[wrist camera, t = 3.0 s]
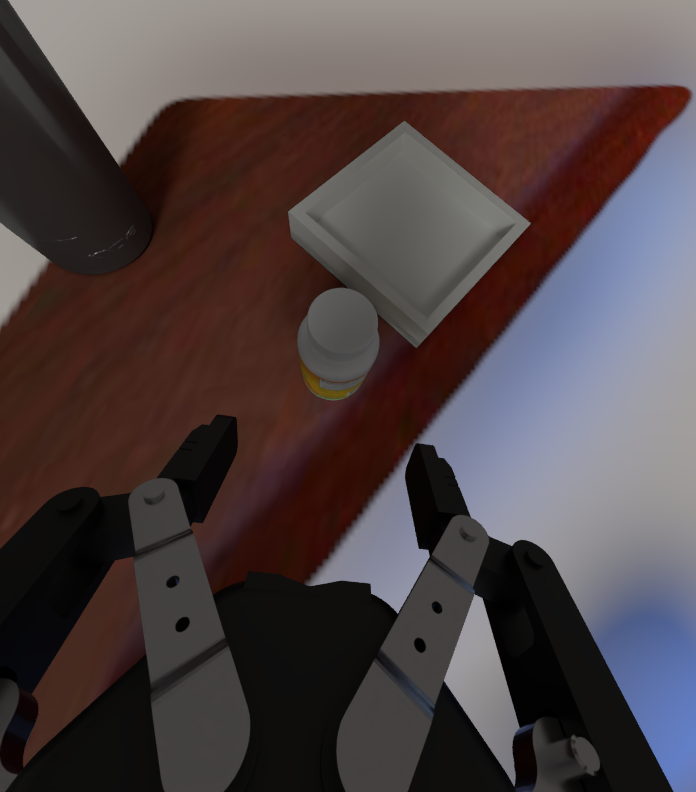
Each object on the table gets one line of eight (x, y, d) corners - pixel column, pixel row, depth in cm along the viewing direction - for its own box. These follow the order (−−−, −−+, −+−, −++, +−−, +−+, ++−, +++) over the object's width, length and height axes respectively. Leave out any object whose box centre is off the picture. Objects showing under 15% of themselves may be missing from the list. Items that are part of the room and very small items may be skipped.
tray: (291, 237, 28) (288, 211, 25) (396, 152, 32) (404, 120, 29) (416, 348, 27) (428, 334, 24) (510, 246, 30) (530, 223, 28)
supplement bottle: (302, 341, 26) (295, 272, 16) (362, 343, 26) (389, 278, 17) (300, 400, 25) (291, 364, 15) (363, 402, 25) (392, 367, 16)
